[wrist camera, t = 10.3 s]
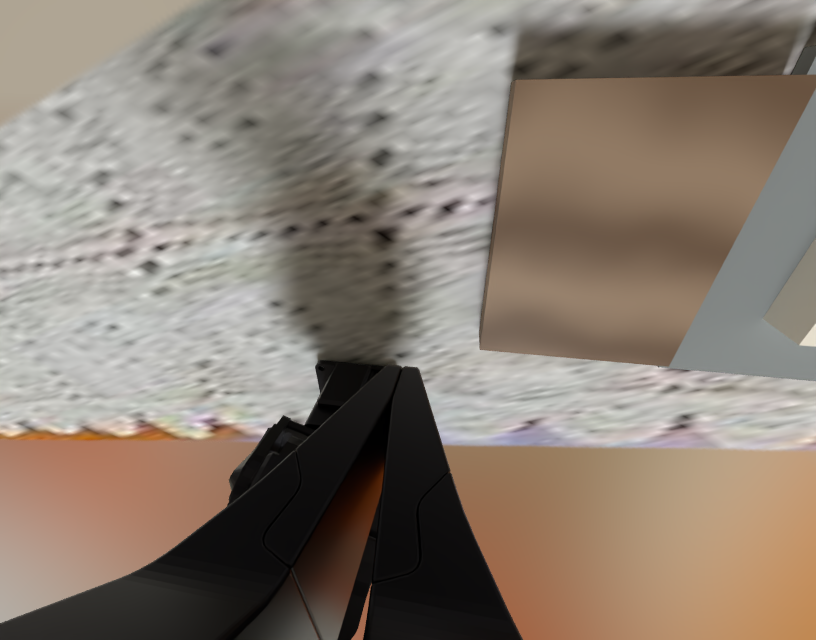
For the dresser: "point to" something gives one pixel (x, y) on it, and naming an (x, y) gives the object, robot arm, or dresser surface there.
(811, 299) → the tile
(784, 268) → the mat
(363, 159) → the dresser surface
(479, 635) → the robot arm
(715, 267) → the board
